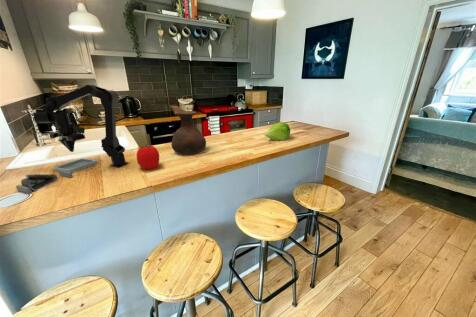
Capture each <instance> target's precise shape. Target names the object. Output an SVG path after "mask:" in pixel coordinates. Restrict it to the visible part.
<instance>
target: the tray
mask: <svg viewBox="0 0 476 317" xmlns="http://www.w3.org/2000/svg"><path fill="white" fill-rule="evenodd" d="M98 164H99V163H98V160H96V159H90V158H84V157H81V158H79V159H75V160H72V161H69V162H67V163H64V164H61V165H57V166H55V167H54V166H53V171H54V172H57V173H59V171H66V172H70V173H72V174H73V173H75V172H78V171H81V170H84V169H86V168H89V167H92V166H95V165H98Z"/></svg>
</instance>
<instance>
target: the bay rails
mask: <svg viewBox="0 0 476 317" xmlns="http://www.w3.org/2000/svg"><path fill="white" fill-rule="evenodd" d="M58 173H59V176H60V177H64V178H69V179H72V178H73V177H74V176H73V173H70V172H66V171H59V172H58ZM15 188H16V189H17V192H20V193H23V194H27V195H31V194H33V192H32V189H30V188H28V187H25V186H22V184H18V185H15Z"/></svg>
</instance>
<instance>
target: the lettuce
mask: <svg viewBox="0 0 476 317" xmlns="http://www.w3.org/2000/svg"><path fill="white" fill-rule="evenodd" d="M264 136H265V137H266V138H268V139H270V140H272V141H279V142H282V141H286V140H287V139H289V137H290V136H291V127H290V125H289V124H288V123H287V122H283V121H282V122H281V121H280V122H276V123H274V124H272V125H271V126H270V127H269V128H268V130H267V131H266V132H265V133H264Z"/></svg>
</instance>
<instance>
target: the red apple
mask: <svg viewBox="0 0 476 317" xmlns="http://www.w3.org/2000/svg"><path fill="white" fill-rule="evenodd" d="M136 161H137V164H138V165H139V166H140V167H141V169H144V170H153V169H156V168H158V166H159V163H160V153H159V151H158V149H157V148H156V146H154V145H149V144H148V143H147V144H145V145H143V146H142V145H141V146H140V147H138V149H137V152H136Z"/></svg>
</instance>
